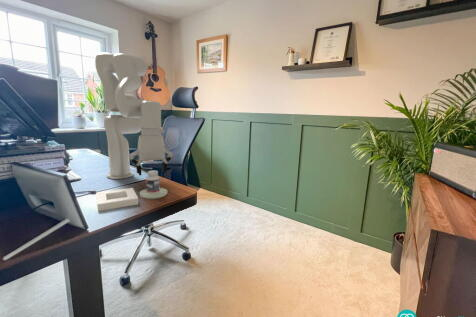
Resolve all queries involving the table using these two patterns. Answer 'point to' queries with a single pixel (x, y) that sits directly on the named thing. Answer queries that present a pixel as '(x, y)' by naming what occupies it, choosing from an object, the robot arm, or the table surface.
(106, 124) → the robot arm
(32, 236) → the table surface
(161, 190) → the coaster
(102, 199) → the pocket holder
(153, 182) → the pill bottle
